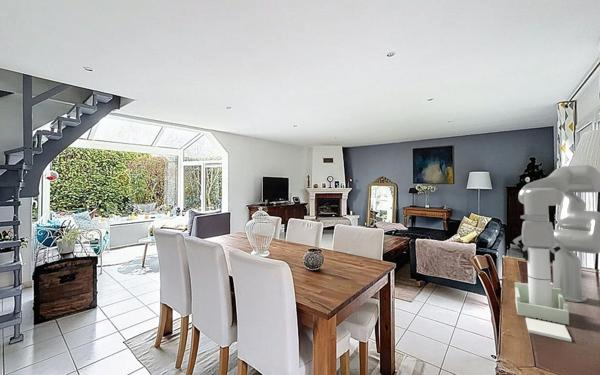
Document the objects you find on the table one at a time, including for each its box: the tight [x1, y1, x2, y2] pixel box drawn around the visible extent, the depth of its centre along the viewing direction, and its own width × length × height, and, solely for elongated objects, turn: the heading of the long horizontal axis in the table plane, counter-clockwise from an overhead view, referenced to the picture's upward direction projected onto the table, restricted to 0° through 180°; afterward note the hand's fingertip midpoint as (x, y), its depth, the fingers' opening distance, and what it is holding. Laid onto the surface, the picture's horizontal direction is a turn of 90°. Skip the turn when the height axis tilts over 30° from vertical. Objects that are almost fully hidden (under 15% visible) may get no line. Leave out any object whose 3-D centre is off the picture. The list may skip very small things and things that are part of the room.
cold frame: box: [514, 281, 570, 326], centre depth 111 cm, size 15×15×9 cm
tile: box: [525, 317, 573, 343], centre depth 97 cm, size 11×11×1 cm
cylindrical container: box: [526, 246, 552, 308], centre depth 111 cm, size 7×7×25 cm
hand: (538, 260), depth 111 cm, fingers closed on cylindrical container, 7 cm apart
